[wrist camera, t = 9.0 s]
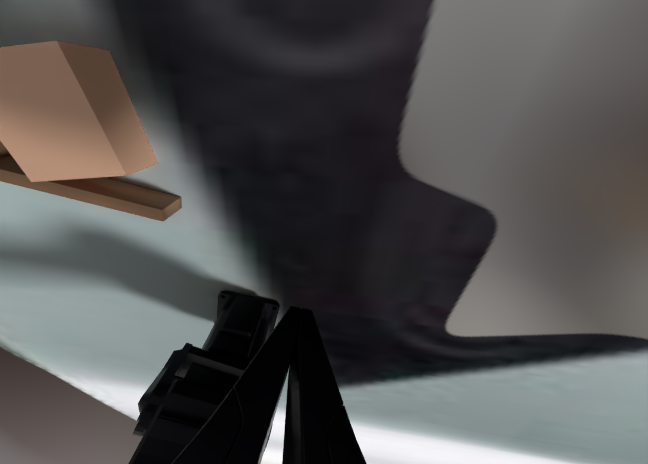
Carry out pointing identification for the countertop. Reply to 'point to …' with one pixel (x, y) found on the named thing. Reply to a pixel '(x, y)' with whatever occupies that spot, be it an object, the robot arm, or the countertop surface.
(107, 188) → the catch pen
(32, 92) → the tan trapezoid block
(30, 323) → the countertop surface
